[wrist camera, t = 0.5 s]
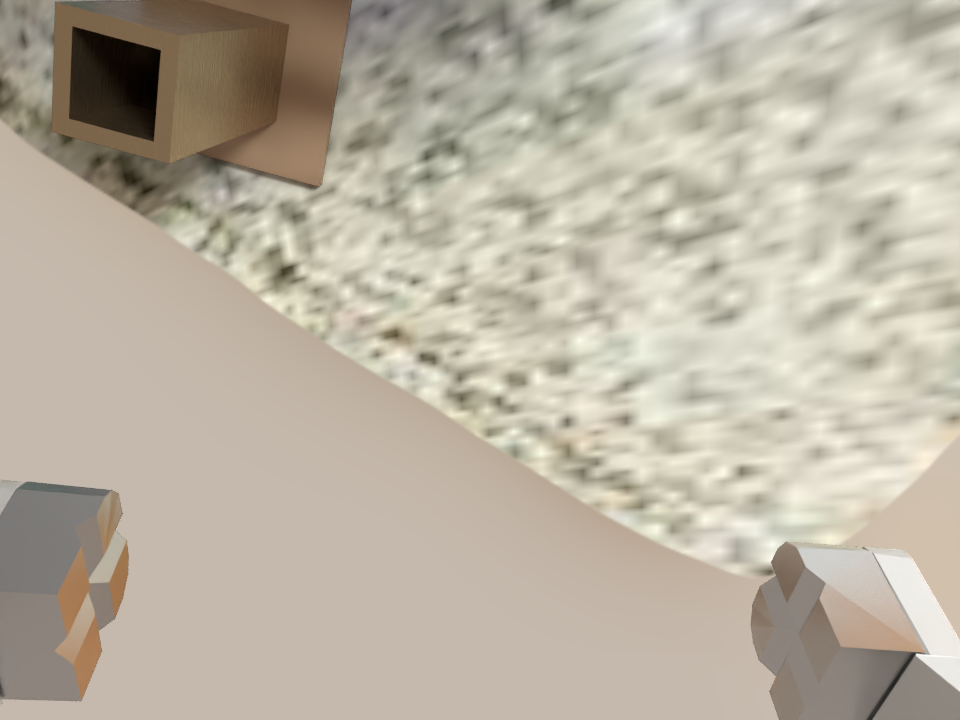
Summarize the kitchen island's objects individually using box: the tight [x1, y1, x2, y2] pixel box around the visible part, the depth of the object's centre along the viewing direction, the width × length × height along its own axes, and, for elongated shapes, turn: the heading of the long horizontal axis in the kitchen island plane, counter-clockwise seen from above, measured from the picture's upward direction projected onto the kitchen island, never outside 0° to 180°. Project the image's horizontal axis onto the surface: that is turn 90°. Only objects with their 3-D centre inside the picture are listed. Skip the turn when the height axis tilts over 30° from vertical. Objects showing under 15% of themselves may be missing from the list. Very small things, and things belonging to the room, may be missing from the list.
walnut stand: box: [197, 0, 352, 187], centre depth 48 cm, size 12×12×6 cm
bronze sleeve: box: [52, 0, 289, 164], centre depth 44 cm, size 6×6×14 cm
